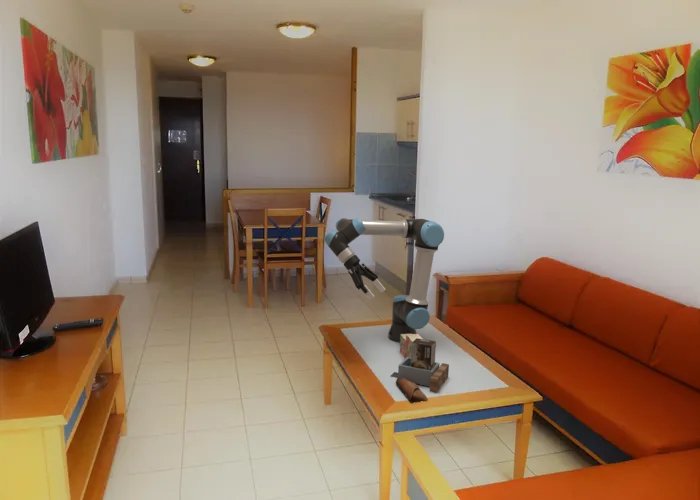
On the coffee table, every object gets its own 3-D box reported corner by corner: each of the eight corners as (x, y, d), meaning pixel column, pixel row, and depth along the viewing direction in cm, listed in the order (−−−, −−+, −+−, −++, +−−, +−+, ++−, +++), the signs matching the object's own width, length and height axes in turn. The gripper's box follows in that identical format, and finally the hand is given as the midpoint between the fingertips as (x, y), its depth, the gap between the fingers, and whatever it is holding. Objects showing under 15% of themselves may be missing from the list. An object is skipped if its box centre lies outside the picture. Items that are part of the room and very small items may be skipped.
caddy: (406, 370, 245) (407, 356, 244) (438, 377, 239) (439, 363, 237) (397, 379, 235) (398, 365, 234) (431, 386, 229) (432, 371, 228)
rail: (394, 372, 244) (394, 371, 244) (437, 381, 236) (437, 380, 236) (390, 376, 240) (390, 375, 240) (434, 385, 232) (434, 385, 231)
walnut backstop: (441, 375, 242) (442, 363, 241) (448, 377, 241) (448, 364, 239) (429, 391, 226) (430, 377, 225) (436, 392, 224) (437, 379, 223)
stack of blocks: (399, 351, 270) (400, 328, 268) (411, 351, 271) (412, 327, 269) (412, 368, 249) (413, 343, 247) (425, 367, 251) (426, 342, 248)
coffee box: (434, 376, 237) (436, 341, 234) (430, 381, 231) (432, 345, 228) (414, 372, 241) (416, 337, 238) (409, 377, 235) (411, 342, 232)
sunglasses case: (430, 400, 217) (423, 388, 215) (416, 410, 216) (408, 398, 214) (413, 382, 234) (406, 370, 232) (400, 391, 233) (393, 379, 231)
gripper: (355, 259, 266) (382, 293, 263) (331, 269, 244) (361, 306, 241) (365, 250, 263) (393, 284, 260) (342, 258, 241) (372, 295, 237)
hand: (377, 294), depth 250 cm, fingers open, 13 cm apart
